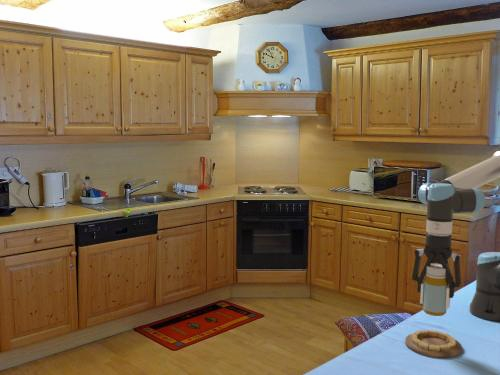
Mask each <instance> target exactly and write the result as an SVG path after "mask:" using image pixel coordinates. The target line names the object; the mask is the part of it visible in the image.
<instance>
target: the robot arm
mask: <svg viewBox="0 0 500 375" xmlns="http://www.w3.org/2000/svg"><path fill="white" fill-rule="evenodd" d="M497 179H500V150H498V151H495V152H494V153H493V154H492V156H491V157H489V158H487V159H485V160H483V161H481V162H479V163H476V164H475V165H471V167H468V168H465V169H464V170H461V171H460V172H457V173H455V174H453V175H451V176H449V177H447V178H444V179H442V180H440V181H438V182H434V183H433V182H426V183H423V184H422V185H421V186H420V187H419V189H418V191H417V192H418V193H417V196H418V199H419V201H420V202H421V204H424V205H426V211H427V212H426V225H425V228H426V229H425V231H426V234H425V243H424V244H425V246H424V248H417V249H415V250H414V257H415V258H414V266H413V271H412V277H411V280H412V281H415V282H417V293H420V299H419V304H420V305H421V304H422V305H423V296H424V280H425V277H426V271H427V266H430V265H431V264H441V265H442V267H443V269H446V272H445V275H446V278H447V281H448V287H447V290H446V309H447V310H449V308H450V306H451V299H453V298H454V296H455V288H460V286H461V285H462V277H461V276H462V275H461V259H462V254H460V253H458V254H457V253H455V252H453V251H452V237H453V236H452V233H453V221H454V220H453V217H454V216H453V215H455V214H465V213H466V214H467V213H470V214H473V213H476V212H480V211H482V210H483V209H484V207H485V205H486V197H485V194H484V192H483V191H482V190H480V189H479V188H480V187H482V186H485V185H486V184H490V182H491V183H492V181H495V180H497ZM422 256H426V258H427V260H426V262H425V265H424V267H423V269H422V270H421V273H420V275H419V272H420V266H421V261H422ZM451 257H452V261H453V265H454V267H453V268H454V269H453V270H454V277H453V274H452V272H451V268H450V266H449V265H450V264H449V259H450V258H451ZM454 280H455V281H454ZM475 281H476V282H475V293H474V295H473V297H472V300H471V302H470V305H469V313H471V314H472V315H473V316H475V317H477V318H479V319H483V320H487V321H488V320H489V321H494V322H500V251H490V252H489V251H488V252H481V253H480V254H479V255H478V258H477V263H476V280H475Z"/></svg>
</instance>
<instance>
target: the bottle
mask: <svg viewBox="0 0 500 375" xmlns="http://www.w3.org/2000/svg"><path fill="white" fill-rule="evenodd" d="M445 272H446V269H443V267H442V264H438V263H431V265H430V266H427V271H426V276H425V278H424V280H423V282H424V296H423V304H422V311H423V312H424V313H425V314H427V315H430V316H433V317H442V316H444V315H445V314H446V313H447V310H448V309H446V290H447V287H448V286H449V284H448V281H447V278H446V275H445Z"/></svg>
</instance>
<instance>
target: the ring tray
mask: <svg viewBox="0 0 500 375" xmlns="http://www.w3.org/2000/svg"><path fill="white" fill-rule="evenodd" d="M404 342H405V343H404V344H405V346H406V347H407V349H409V350H410V351H412V352H414V353H416V354H419V355H422V356H424V357H428V358H429V357H430V358H436V359H447V358H448V359H450V358H454V357H457V356H460V354H462V350H463V346H462V344H461V343H460V342H459V341H458V340H457V339H455V338H454V337H453V336H452V335H450V334H448V333H445V332H442V331H437V330H433V329H432V330H429V329H425V330H424V329H423V330H416V331H414V332H413V333H410V334H408V335H407V336H406V337H405V340H404Z"/></svg>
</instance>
